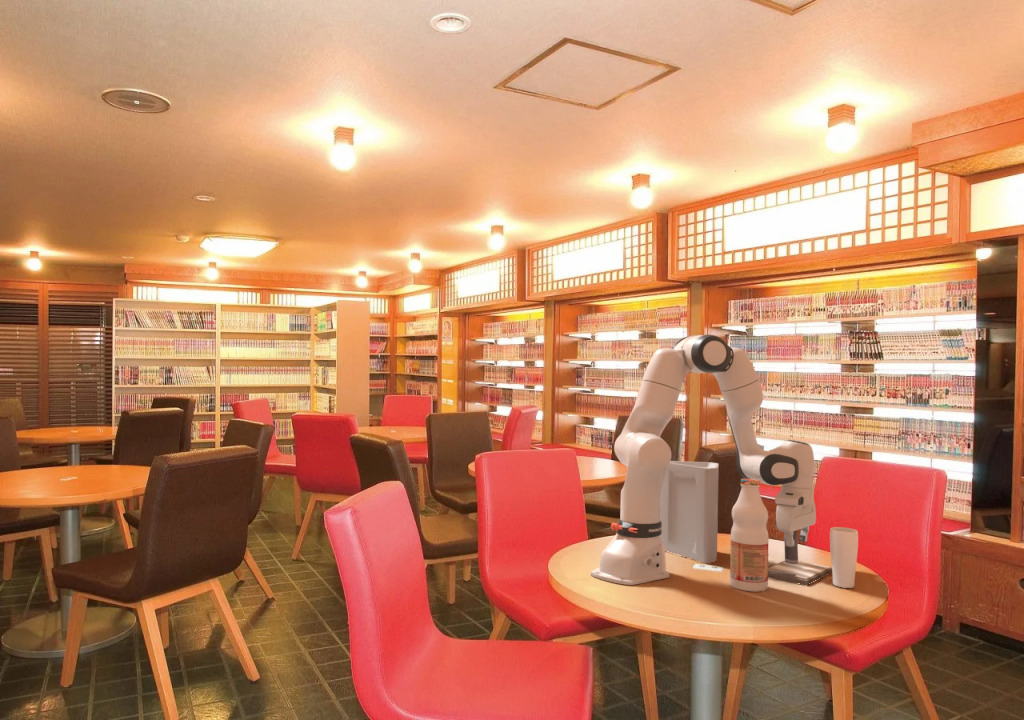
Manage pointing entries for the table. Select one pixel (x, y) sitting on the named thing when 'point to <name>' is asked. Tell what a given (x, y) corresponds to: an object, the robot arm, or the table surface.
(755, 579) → the fruit juice
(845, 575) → the drinking glass
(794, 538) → the marker
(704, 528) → the gray plastic bin
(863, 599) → the table surface
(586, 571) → the table surface
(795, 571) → the dark grey notebook
